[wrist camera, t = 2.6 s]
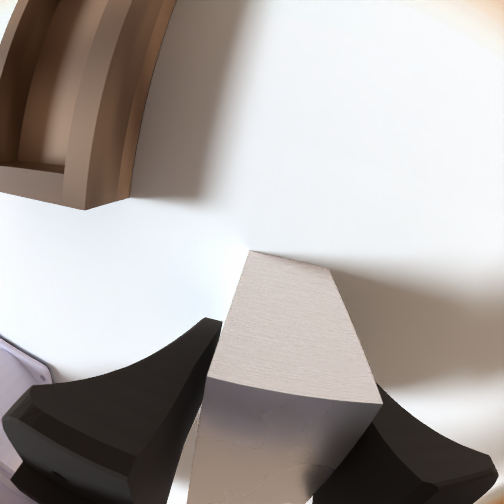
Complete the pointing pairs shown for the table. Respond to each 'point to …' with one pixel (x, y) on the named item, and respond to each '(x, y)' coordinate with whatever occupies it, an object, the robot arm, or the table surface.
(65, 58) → the slot cradle
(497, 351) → the table surface
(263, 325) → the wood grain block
